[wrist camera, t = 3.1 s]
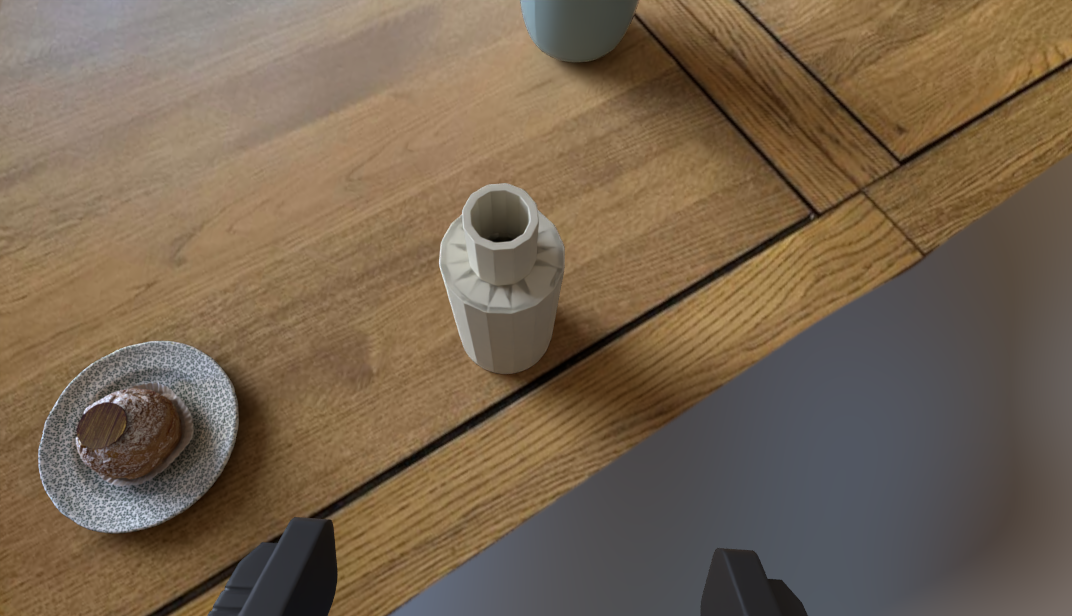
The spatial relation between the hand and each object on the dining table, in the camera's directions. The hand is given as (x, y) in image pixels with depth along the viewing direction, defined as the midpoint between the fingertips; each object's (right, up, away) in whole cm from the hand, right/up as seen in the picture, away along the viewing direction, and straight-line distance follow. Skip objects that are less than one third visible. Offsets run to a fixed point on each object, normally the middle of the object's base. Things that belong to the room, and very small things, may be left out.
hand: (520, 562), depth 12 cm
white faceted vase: (-2, +4, +29) cm, 29 cm away
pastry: (-25, -3, +26) cm, 36 cm away
